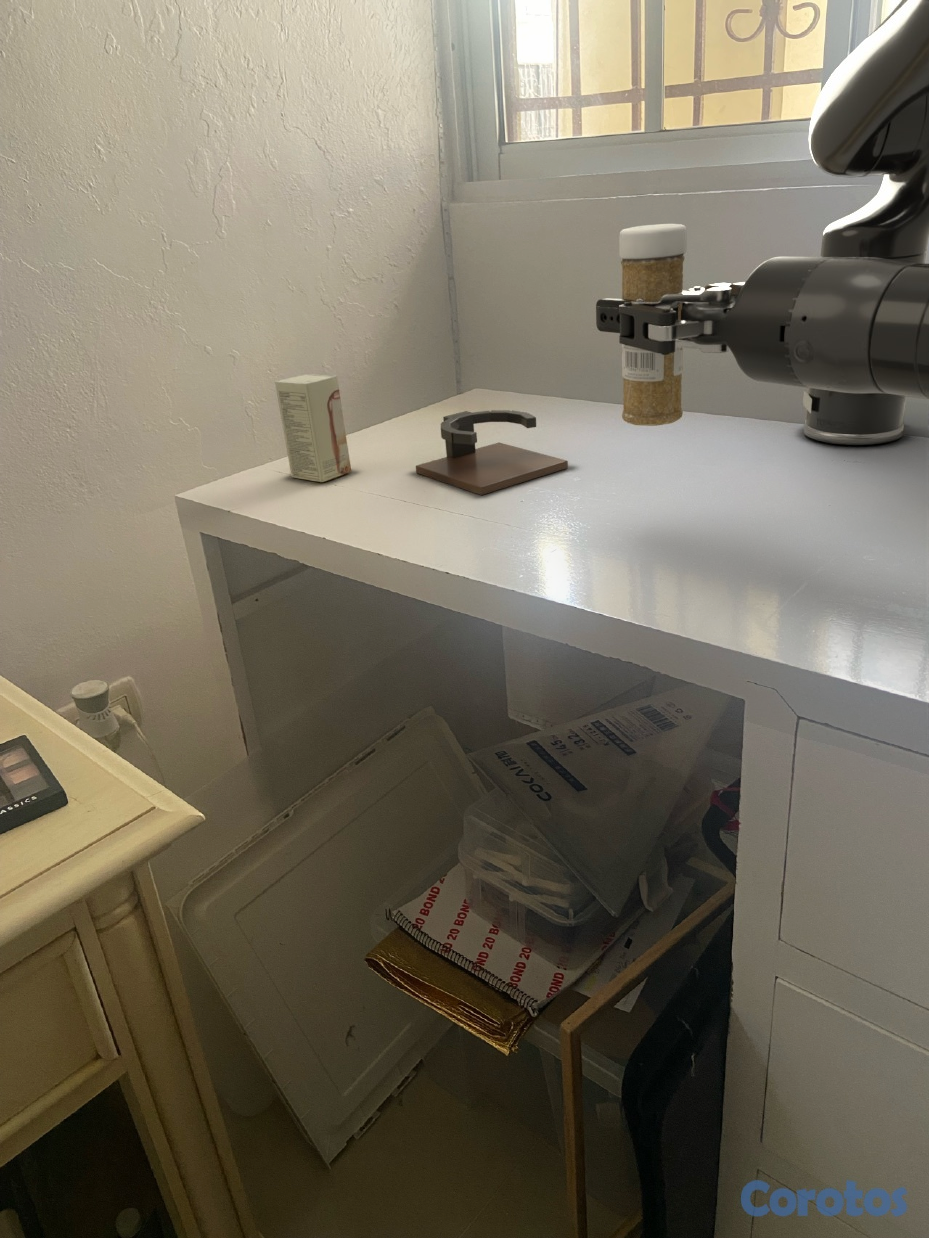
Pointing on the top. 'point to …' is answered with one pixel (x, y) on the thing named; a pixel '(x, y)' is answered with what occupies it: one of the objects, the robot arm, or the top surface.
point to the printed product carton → (313, 426)
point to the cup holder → (486, 455)
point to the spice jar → (650, 276)
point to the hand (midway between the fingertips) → (624, 309)
